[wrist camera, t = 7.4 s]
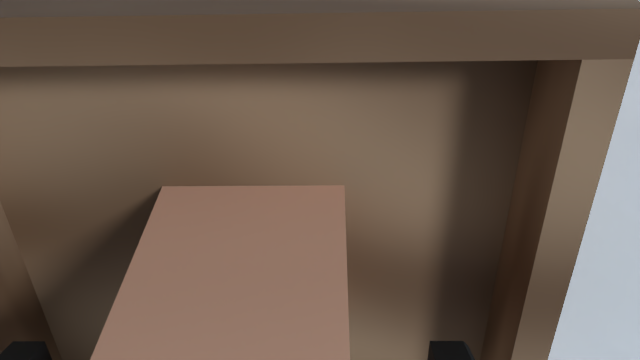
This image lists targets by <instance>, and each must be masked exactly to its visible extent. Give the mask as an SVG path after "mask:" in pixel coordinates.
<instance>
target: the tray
mask: <svg viewBox="0 0 640 360" xmlns="http://www.w3.org/2000/svg"><path fill="white" fill-rule="evenodd" d="M639 40H640V2H639V1H638V0H0V353H1V352H2V351H3V350H5V349H6V348H7V347H8V346H9V345H10V344H11V343H12V342H13V341H45V343H46V345H47V348H48V350H49V353H50V355H51V358H52V360H90V359H91V356H92V354H93V352H94V349H95V347H96V344H97V342H98V340H99V337H100V335H101V332H102V330H103V328H104V325H105V323H106V320H107V318H108V316H109V313H110V311H111V308H112V306H113V304H114V301H115V299H116V296H117V294H118V292H119V289H120V287H121V284H122V282H123V280H124V277H125V275H126V272H127V270H128V268H129V265H130V263H131V260H132V258H133V256H134V253H135V251H136V248H137V246H138V244H139V241H140V239H141V236H142V234H143V232H144V229H145V227H146V224H147V222H148V220H149V217H150V215H151V212H152V210H153V208H154V205H155V203H156V200H157V198H158V196H159V193H160V191H161V188H162V186H309V185H344V186H345V217H346V248H347V279H348V310H349V341H350V360H427V359H428V351H429V343H430V341H464V342H465V343H466V344H467V345H468V346H469V348H470V351H471V353H472V355H473V357H474V359H475V360H547V359H548V356H549V352H550V349H551V345H552V342H553V339H554V335H555V332H556V328H557V325H558V321H559V318H560V314H561V311H562V307H563V304H564V300H565V297H566V293H567V290H568V286H569V283H570V280H571V276H572V273H573V269H574V266H575V262H576V259H577V255H578V252H579V248H580V245H581V241H582V238H583V234H584V231H585V227H586V224H587V221H588V217H589V214H590V210H591V207H592V203H593V200H594V196H595V193H596V189H597V186H598V182H599V179H600V175H601V172H602V168H603V165H604V162H605V158H606V155H607V151H608V148H609V144H610V141H611V137H612V134H613V130H614V127H615V123H616V120H617V116H618V113H619V109H620V106H621V103H622V99H623V96H624V92H625V89H626V85H627V82H628V78H629V75H630V71H631V68H632V64H633V61H634V57H635V54H636V50H637V47H638V44H639Z"/></svg>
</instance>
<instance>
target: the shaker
mask: <svg viewBox="0 0 640 360" xmlns="http://www.w3.org/2000/svg"><path fill="white" fill-rule="evenodd" d="M90 360H350V341H349V310H348V279H347V248H346V217H345V186H344V185H309V186H162V188H161V191H160V193H159V196H158V198H157V200H156V203H155V205H154V208H153V210H152V212H151V215H150V217H149V220H148V222H147V224H146V227H145V229H144V232H143V234H142V236H141V239H140V241H139V244H138V246H137V248H136V251H135V253H134V256H133V258H132V260H131V263H130V265H129V268H128V270H127V272H126V275H125V277H124V280H123V282H122V284H121V287H120V289H119V292H118V294H117V296H116V299H115V301H114V304H113V306H112V308H111V311H110V313H109V316H108V318H107V320H106V323H105V325H104V328H103V330H102V332H101V335H100V337H99V340H98V342H97V344H96V347H95V349H94V352H93V354H92V356H91V359H90Z"/></svg>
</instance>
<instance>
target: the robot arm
mask: <svg viewBox="0 0 640 360" xmlns="http://www.w3.org/2000/svg"><path fill="white" fill-rule="evenodd" d="M0 360H52V358H51V355H50V353H49V350H48V348H47V345H46V343H45V341H13V342H12V343H11V344H10V345H9V346H8V347H7V348H6V349H5V350H3V351H2V352H1V353H0ZM427 360H475V359H474V357H473V355H472V353H471V351H470V348H469V346H468V345H467V344H466V343H465V342H464V341H430V343H429V351H428V359H427Z"/></svg>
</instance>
